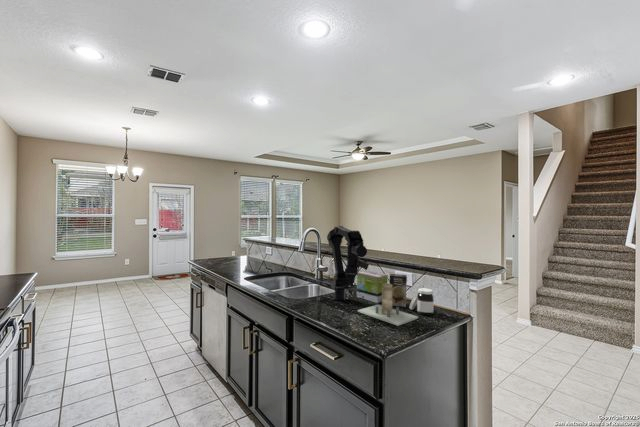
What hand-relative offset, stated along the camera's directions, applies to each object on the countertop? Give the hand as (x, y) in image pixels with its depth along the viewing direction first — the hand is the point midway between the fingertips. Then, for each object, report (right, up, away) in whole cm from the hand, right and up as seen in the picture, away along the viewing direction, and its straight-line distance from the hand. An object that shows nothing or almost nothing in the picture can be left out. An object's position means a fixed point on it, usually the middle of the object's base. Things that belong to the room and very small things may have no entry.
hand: (352, 284), depth 160 cm
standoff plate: (+16, -12, -10) cm, 23 cm away
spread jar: (+34, -13, -4) cm, 37 cm away
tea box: (+13, -13, +18) cm, 26 cm away
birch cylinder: (+16, -12, -10) cm, 22 cm away
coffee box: (+25, -13, +7) cm, 29 cm away
